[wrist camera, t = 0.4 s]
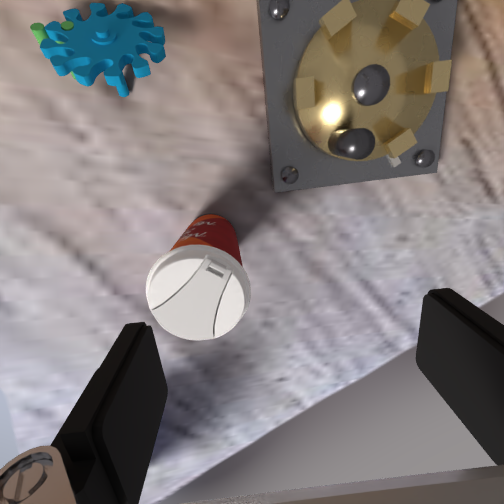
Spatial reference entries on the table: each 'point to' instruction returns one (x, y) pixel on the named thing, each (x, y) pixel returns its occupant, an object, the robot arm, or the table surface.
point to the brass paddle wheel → (368, 79)
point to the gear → (101, 44)
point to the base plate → (283, 113)
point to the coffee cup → (200, 282)
